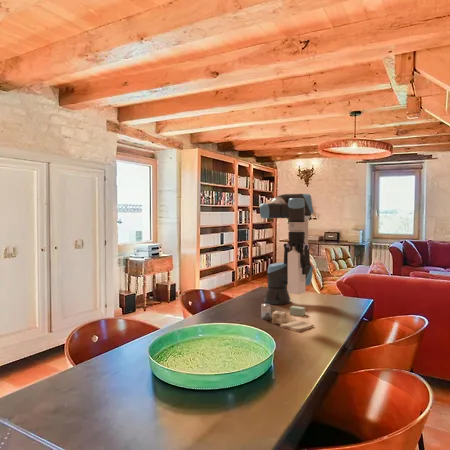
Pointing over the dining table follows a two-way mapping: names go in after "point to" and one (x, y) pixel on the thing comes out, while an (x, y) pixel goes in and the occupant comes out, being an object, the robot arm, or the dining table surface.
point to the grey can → (266, 311)
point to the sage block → (297, 310)
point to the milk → (294, 273)
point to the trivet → (297, 325)
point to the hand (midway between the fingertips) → (296, 280)
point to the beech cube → (278, 317)
